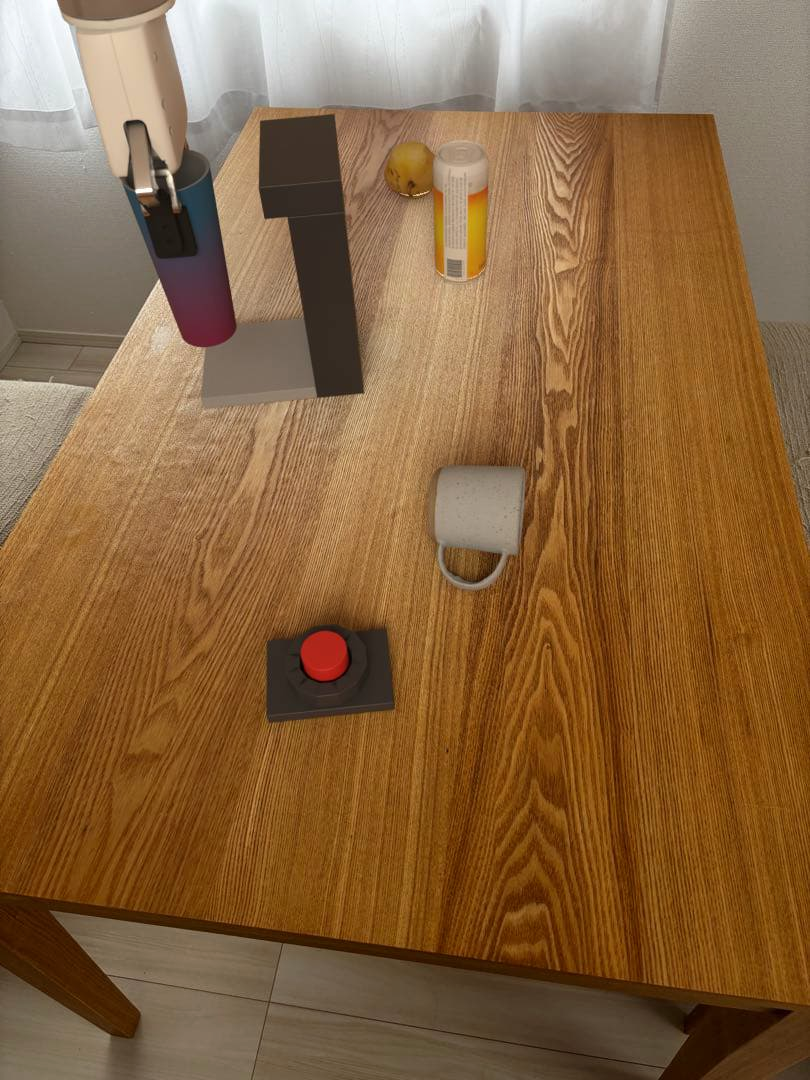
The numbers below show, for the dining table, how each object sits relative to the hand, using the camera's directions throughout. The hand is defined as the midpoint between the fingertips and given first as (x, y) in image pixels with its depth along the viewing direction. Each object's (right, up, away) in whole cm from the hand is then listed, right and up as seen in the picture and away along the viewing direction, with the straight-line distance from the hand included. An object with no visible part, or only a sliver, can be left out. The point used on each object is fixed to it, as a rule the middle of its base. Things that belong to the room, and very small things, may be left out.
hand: (180, 229), depth 70 cm
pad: (+12, -36, +1) cm, 38 cm away
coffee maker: (+4, -6, +26) cm, 27 cm away
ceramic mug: (+25, -26, +9) cm, 37 cm away
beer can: (+25, +7, +35) cm, 43 cm away
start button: (+12, -35, -1) cm, 37 cm away
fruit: (+19, +21, +47) cm, 55 cm away
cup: (+1, -6, +8) cm, 10 cm away
